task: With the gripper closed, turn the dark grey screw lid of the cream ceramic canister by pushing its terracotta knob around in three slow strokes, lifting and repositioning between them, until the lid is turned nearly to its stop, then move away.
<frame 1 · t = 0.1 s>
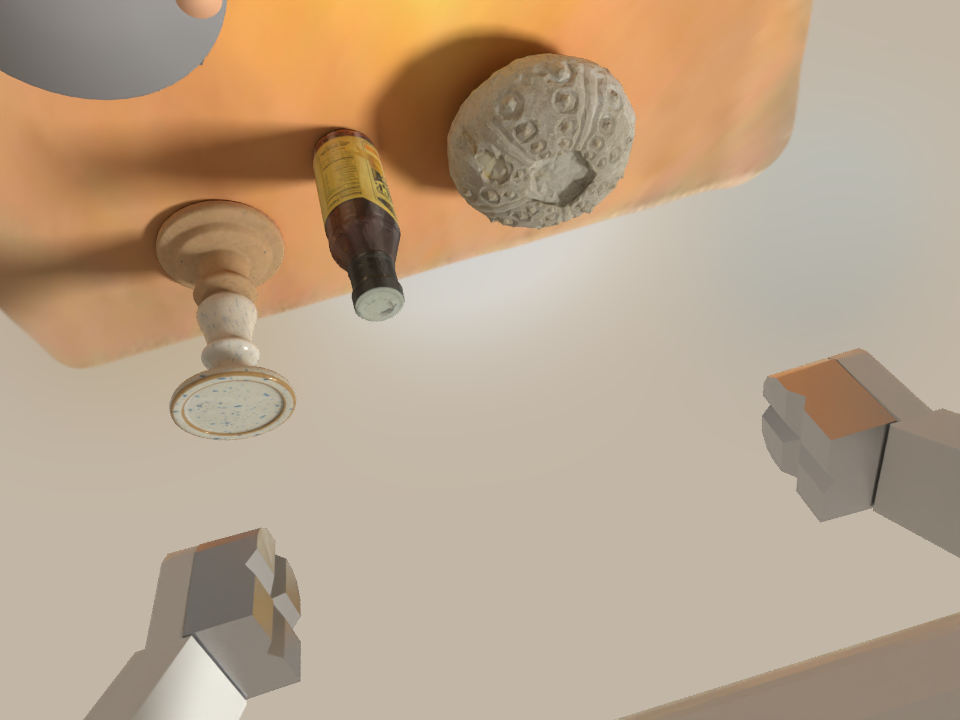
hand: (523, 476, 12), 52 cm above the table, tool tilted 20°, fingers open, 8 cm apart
decorative shell: (526, 113, 71), on the table
sauce bottle: (343, 149, 69), on the table
candle holder: (221, 243, 74), on the table
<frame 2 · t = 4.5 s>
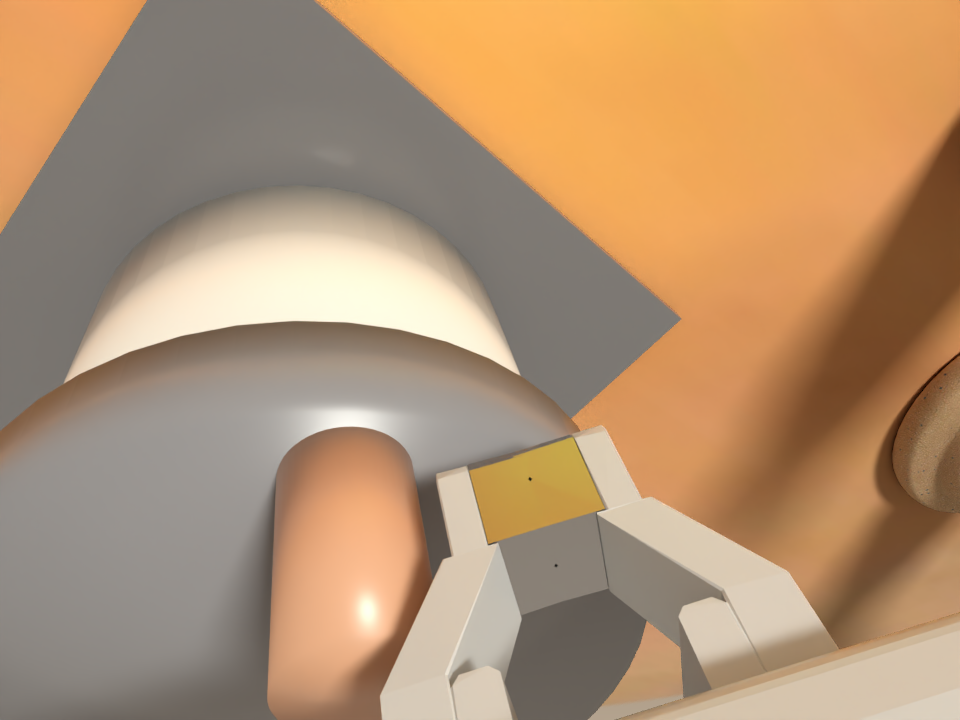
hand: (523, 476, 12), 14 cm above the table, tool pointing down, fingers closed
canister: (308, 365, 26), on the table
lid: (311, 711, 16), point 13 cm above the table, hinge at 0.1°, touching gripper
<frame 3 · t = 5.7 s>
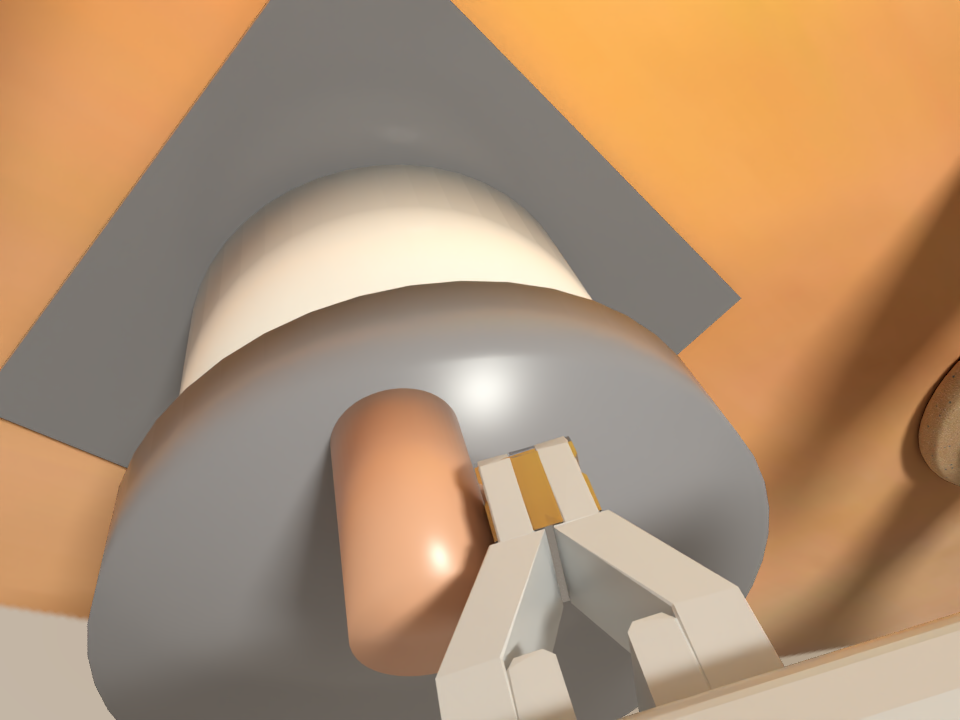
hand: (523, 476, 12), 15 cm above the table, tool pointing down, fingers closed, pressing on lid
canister: (391, 341, 27), on the table
lid: (464, 652, 17), point 13 cm above the table, hinge at 24.0°, touching gripper
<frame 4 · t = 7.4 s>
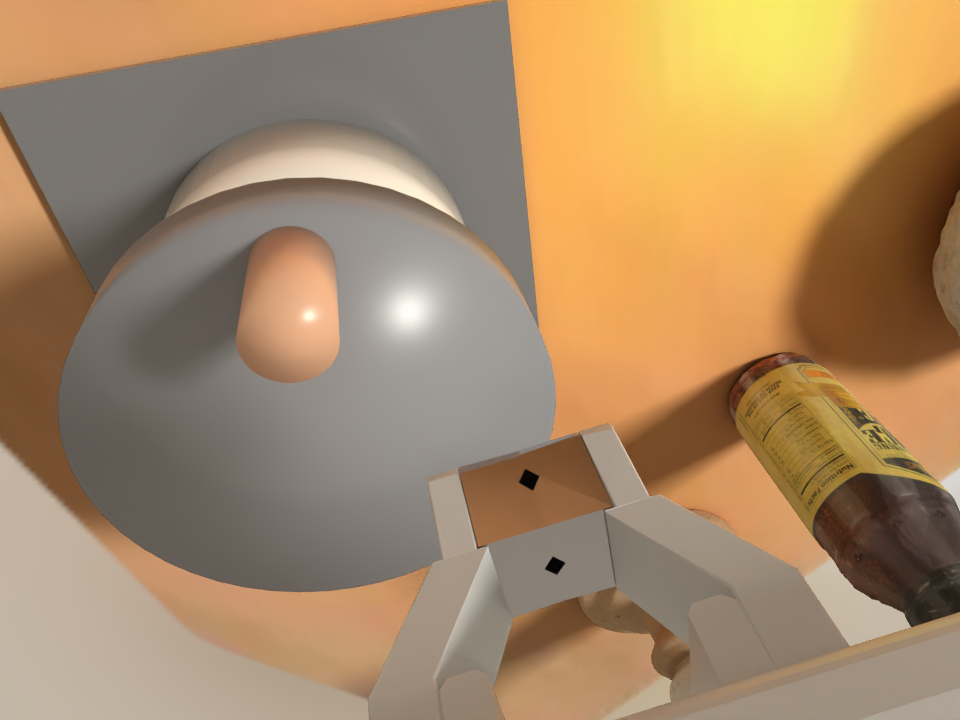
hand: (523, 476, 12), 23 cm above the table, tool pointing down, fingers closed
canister: (321, 265, 34), on the table
lid: (325, 449, 24), point 13 cm above the table, hinge at 53.5°
sauce bottle: (767, 384, 45), on the table
candle holder: (654, 564, 53), on the table
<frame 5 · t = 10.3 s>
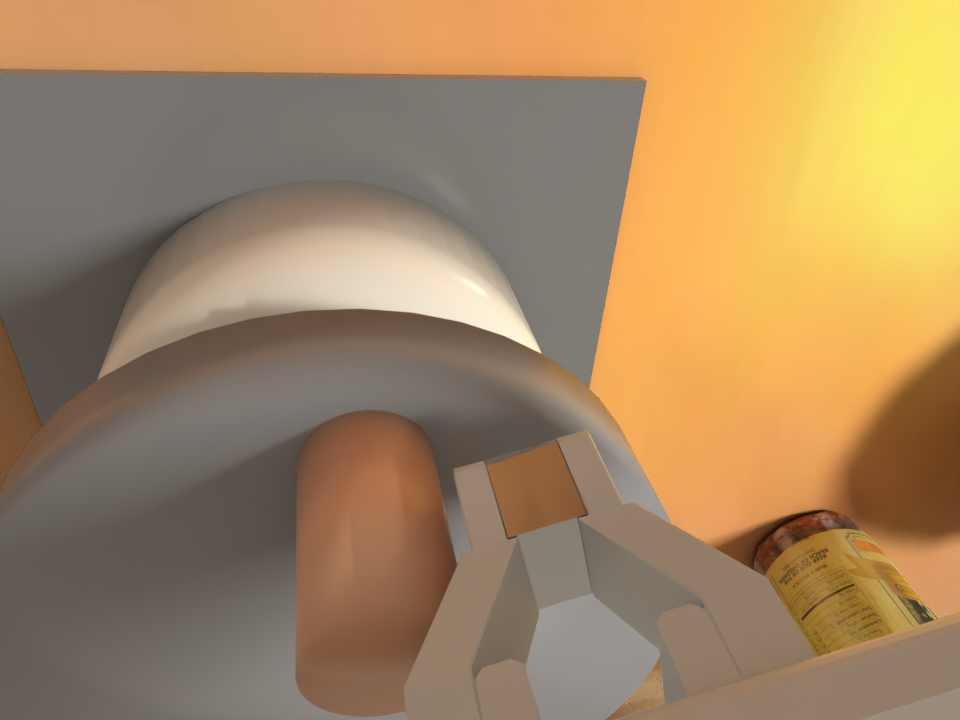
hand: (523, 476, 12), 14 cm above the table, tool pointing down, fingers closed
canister: (332, 359, 26), on the table
lid: (352, 697, 16), point 13 cm above the table, hinge at 55.4°, touching gripper
sauce bottle: (797, 539, 39), on the table
candle holder: (626, 708, 47), on the table
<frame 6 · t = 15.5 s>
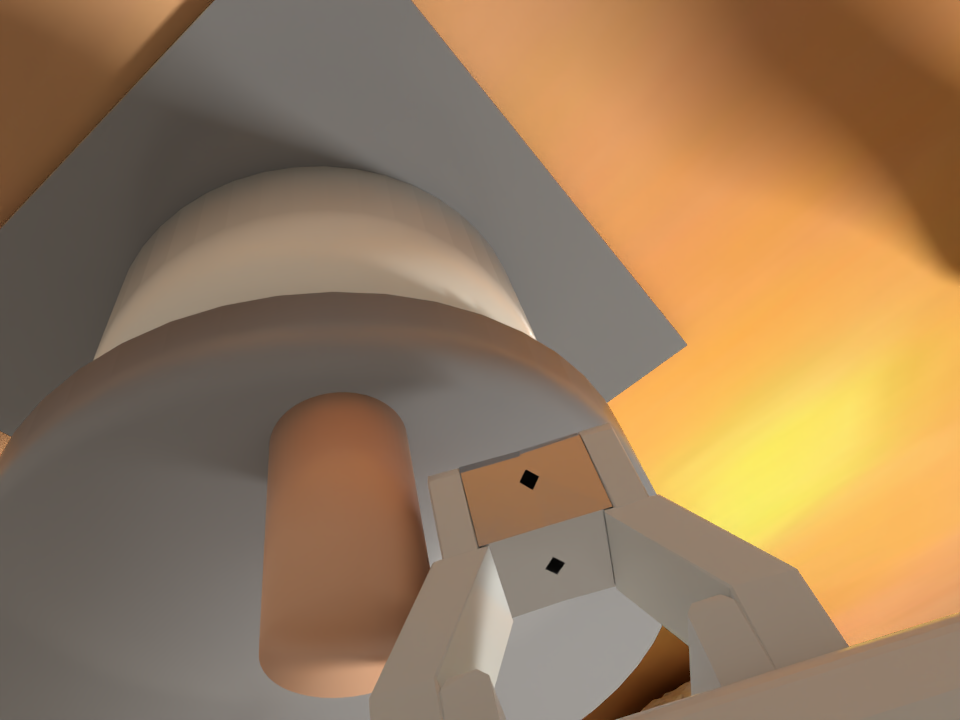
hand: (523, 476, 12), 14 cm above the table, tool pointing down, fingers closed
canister: (328, 347, 26), on the table
lid: (345, 681, 16), point 13 cm above the table, hinge at 105.6°, touching gripper
decorative shell: (704, 702, 50), on the table
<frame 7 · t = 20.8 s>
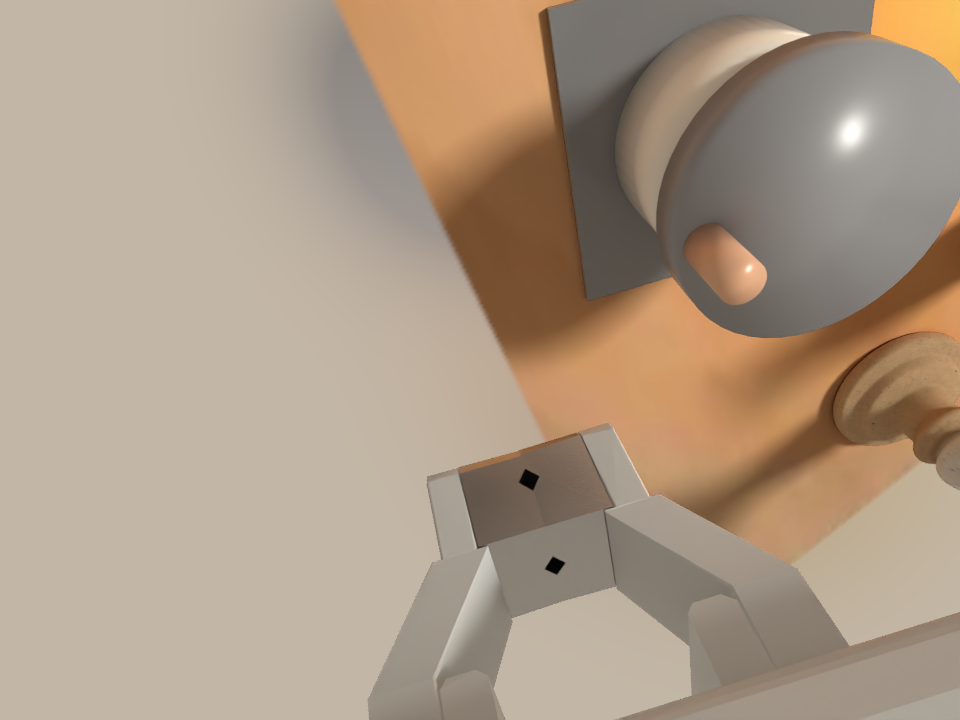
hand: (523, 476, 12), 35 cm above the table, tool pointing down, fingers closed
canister: (715, 130, 47), on the table
lid: (831, 214, 37), point 13 cm above the table, hinge at 150.4°
candle holder: (893, 385, 66), on the table
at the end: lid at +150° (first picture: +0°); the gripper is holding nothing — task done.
